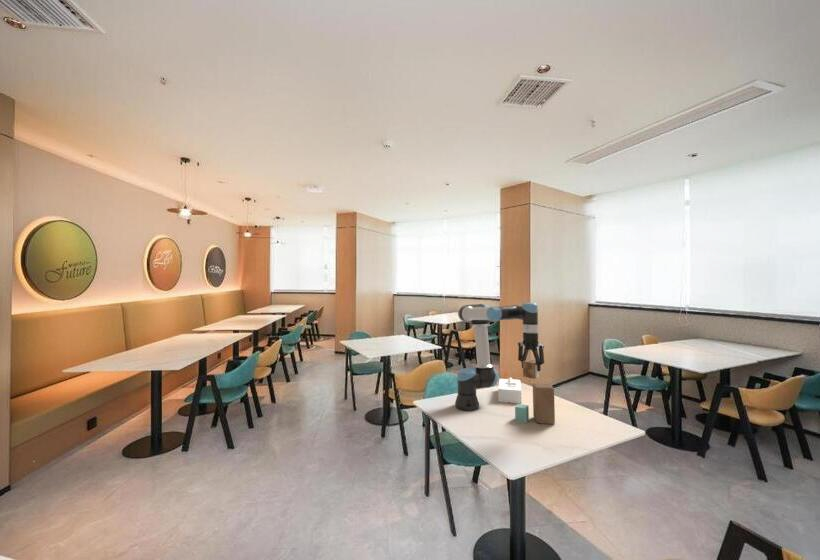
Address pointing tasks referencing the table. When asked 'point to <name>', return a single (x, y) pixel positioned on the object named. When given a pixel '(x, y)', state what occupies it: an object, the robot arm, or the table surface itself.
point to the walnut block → (529, 368)
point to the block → (543, 403)
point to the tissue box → (509, 390)
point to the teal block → (521, 413)
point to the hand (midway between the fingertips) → (531, 375)
